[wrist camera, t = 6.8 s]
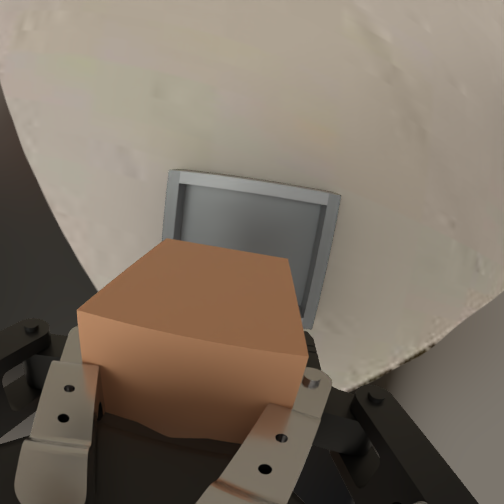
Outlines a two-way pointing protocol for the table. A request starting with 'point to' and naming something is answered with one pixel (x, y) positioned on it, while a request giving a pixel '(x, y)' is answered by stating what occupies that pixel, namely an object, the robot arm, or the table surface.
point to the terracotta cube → (196, 340)
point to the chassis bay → (257, 223)
